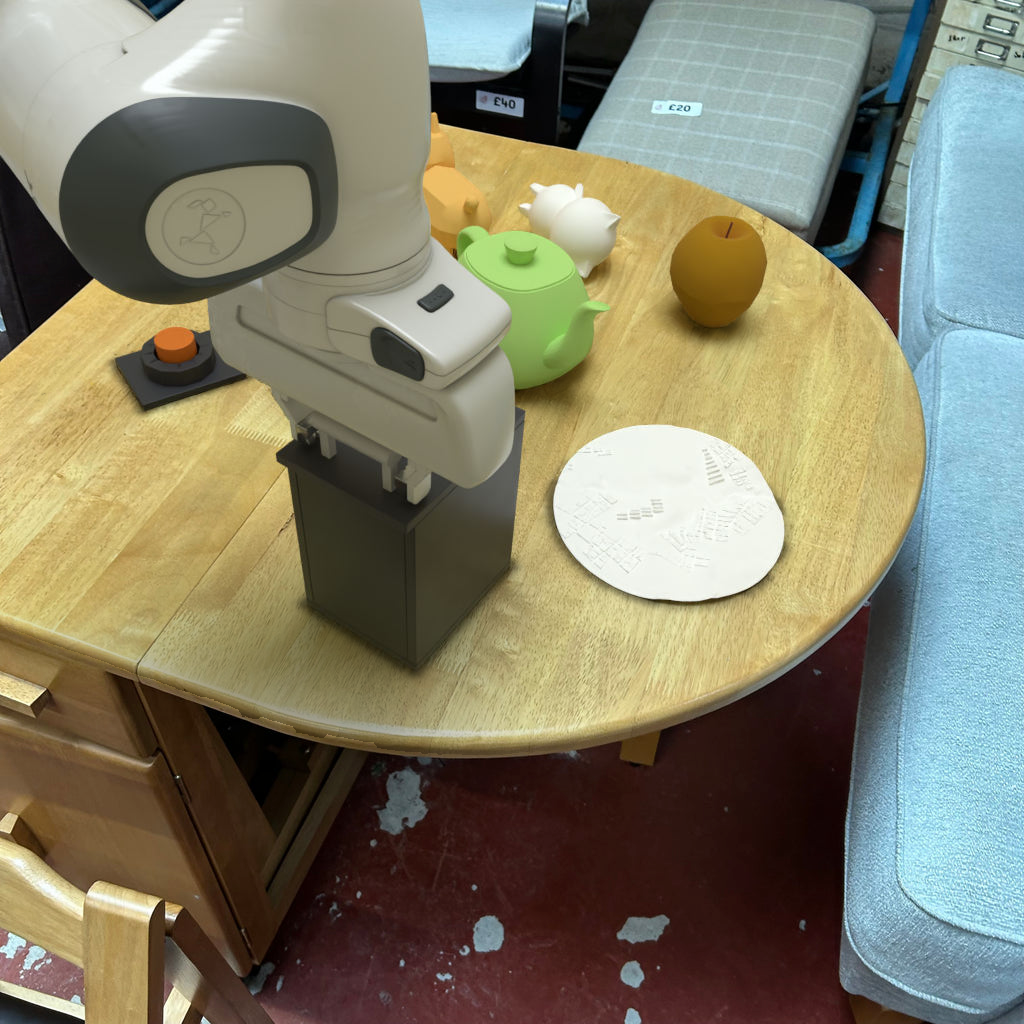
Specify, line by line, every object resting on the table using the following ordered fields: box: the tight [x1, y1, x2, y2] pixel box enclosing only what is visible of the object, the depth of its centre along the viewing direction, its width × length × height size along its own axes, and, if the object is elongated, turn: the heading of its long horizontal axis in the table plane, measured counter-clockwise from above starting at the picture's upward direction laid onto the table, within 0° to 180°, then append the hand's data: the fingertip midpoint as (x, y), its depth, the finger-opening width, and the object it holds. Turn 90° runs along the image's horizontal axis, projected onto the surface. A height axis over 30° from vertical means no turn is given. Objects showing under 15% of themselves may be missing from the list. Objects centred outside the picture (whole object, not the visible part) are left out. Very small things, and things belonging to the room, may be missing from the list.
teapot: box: [456, 226, 612, 390], centre depth 92 cm, size 22×15×13 cm
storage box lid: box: [275, 405, 526, 534], centre depth 62 cm, size 13×11×5 cm
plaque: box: [552, 424, 785, 602], centre depth 83 cm, size 20×20×2 cm
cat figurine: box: [518, 182, 622, 279], centre depth 109 cm, size 9×11×12 cm
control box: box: [114, 329, 248, 411], centre depth 91 cm, size 10×8×2 cm
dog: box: [423, 111, 493, 257], centre depth 107 cm, size 8×20×13 cm, turn 33°
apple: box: [669, 215, 768, 328], centre depth 100 cm, size 10×10×12 cm
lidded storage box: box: [286, 419, 526, 672], centre depth 70 cm, size 13×11×16 cm
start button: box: [154, 326, 197, 363], centre depth 90 cm, size 4×4×2 cm
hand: (360, 465), depth 60 cm, fingers open, 7 cm apart
